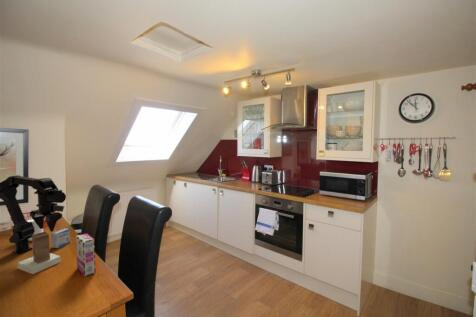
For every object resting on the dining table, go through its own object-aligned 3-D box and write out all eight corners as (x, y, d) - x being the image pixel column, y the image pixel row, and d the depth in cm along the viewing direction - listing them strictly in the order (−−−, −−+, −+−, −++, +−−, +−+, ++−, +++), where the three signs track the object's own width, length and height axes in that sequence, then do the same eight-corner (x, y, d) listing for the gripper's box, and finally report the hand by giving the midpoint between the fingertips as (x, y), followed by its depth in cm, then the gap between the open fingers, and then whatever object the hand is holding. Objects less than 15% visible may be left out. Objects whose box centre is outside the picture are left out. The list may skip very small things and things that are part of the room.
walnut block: (33, 260, 115) (31, 235, 114) (46, 256, 120) (44, 231, 118) (37, 263, 113) (35, 237, 112) (50, 259, 117) (48, 233, 116)
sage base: (18, 268, 114) (17, 262, 114) (46, 257, 125) (45, 251, 125) (32, 274, 109) (32, 268, 109) (60, 261, 120) (60, 256, 120)
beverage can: (29, 242, 142) (28, 223, 141) (24, 239, 146) (23, 220, 145) (45, 237, 149) (44, 219, 148) (40, 235, 153) (39, 217, 152)
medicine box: (57, 248, 135) (57, 233, 134) (51, 247, 136) (50, 233, 135) (70, 242, 143) (69, 228, 142) (64, 241, 143) (63, 228, 143)
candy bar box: (96, 272, 111) (95, 239, 110) (84, 277, 107) (82, 242, 106) (88, 264, 118) (87, 232, 117) (76, 268, 115) (75, 235, 113)
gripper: (71, 200, 131) (73, 227, 132) (51, 196, 138) (52, 222, 139) (49, 205, 120) (50, 235, 122) (28, 201, 128) (30, 229, 129)
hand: (46, 230), depth 128 cm, fingers open, 9 cm apart
